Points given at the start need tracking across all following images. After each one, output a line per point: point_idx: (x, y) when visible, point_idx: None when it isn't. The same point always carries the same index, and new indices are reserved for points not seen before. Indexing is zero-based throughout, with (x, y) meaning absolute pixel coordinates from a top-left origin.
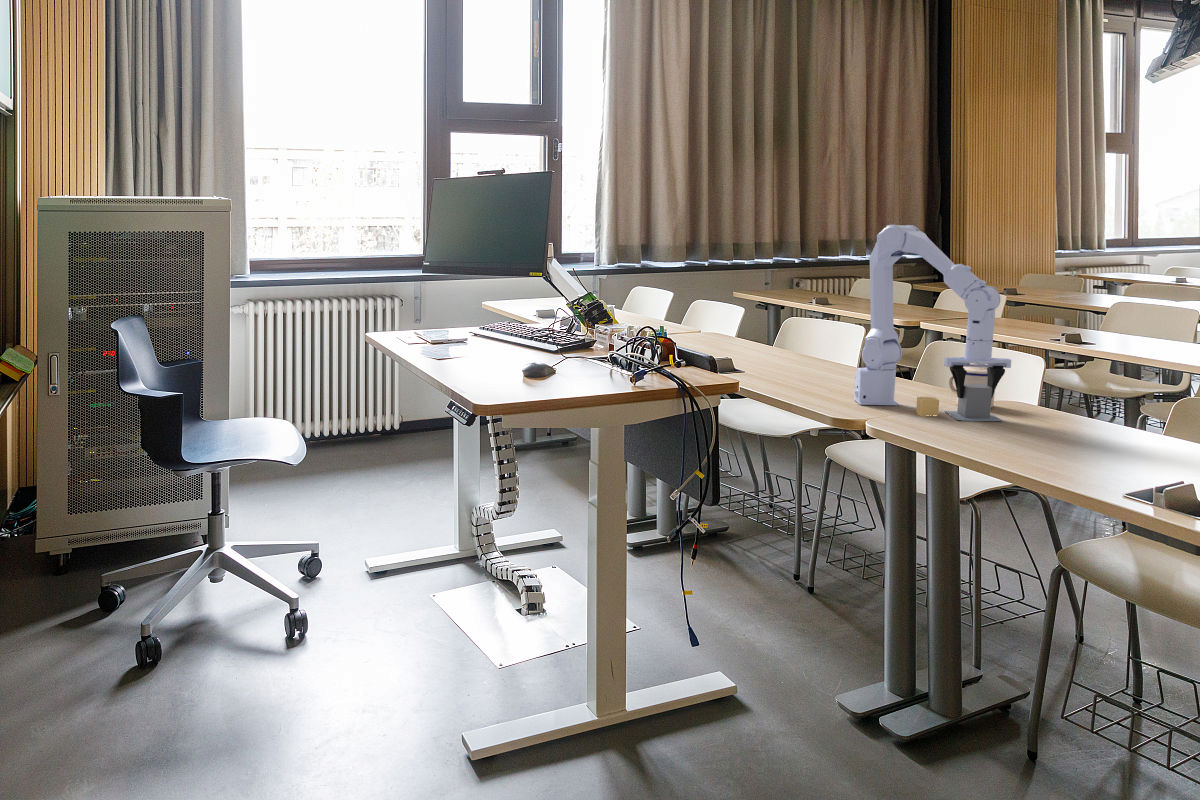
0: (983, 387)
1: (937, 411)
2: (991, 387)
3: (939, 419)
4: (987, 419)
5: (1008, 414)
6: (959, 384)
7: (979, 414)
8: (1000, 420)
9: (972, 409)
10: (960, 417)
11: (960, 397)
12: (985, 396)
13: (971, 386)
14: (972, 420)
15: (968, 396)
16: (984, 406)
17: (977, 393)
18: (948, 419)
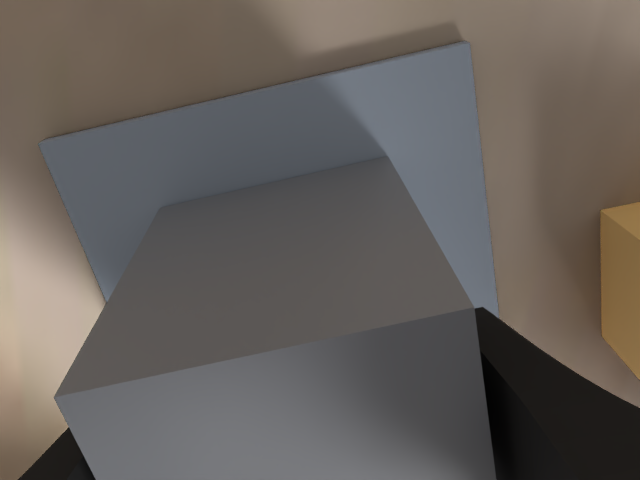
0: (198, 405)
1: (634, 226)
2: (76, 478)
3: (623, 80)
4: (181, 141)
5: (24, 471)
6: (603, 390)
7: (253, 196)
8: (59, 139)
9: (328, 198)
10: (427, 154)
11: (483, 310)
12: (179, 302)
13: (383, 431)
14: (325, 77)
15: (410, 247)
16: (201, 240)
17: (291, 293)
18: (535, 109)
